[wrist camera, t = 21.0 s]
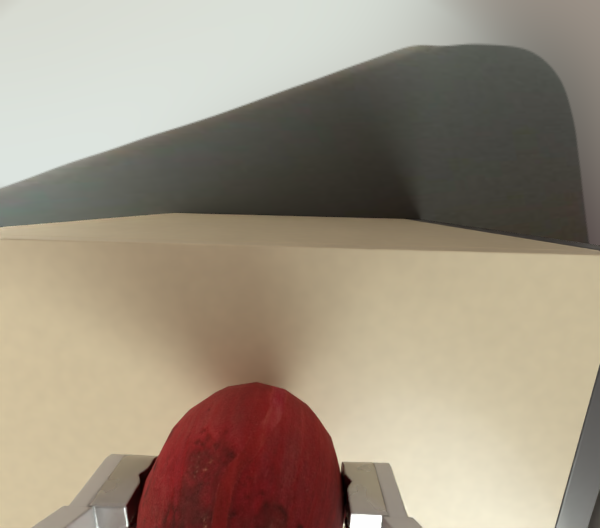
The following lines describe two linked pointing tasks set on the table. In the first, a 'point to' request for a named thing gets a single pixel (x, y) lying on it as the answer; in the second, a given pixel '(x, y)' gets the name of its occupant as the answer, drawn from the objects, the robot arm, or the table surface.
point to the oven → (301, 350)
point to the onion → (245, 466)
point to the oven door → (592, 442)
